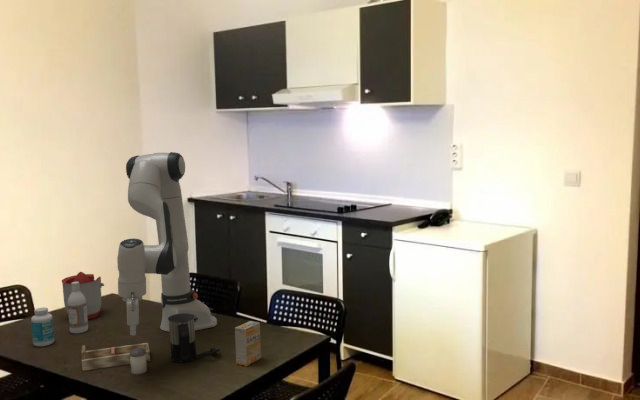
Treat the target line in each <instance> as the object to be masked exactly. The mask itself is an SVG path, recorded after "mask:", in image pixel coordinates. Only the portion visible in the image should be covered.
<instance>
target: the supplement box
mask: <svg viewBox="0 0 640 400" xmlns="http://www.w3.org/2000/svg"><path fill="white" fill-rule="evenodd" d="M234 337H235V340H234V341H235V361H236V363H235V364H236V365H238V364H239V366H242V365H244V366H243V367H248V366H250V365H251V363H252V364H253V363H255V362H257V361H259V360H261V359H262V349H261V323H260V322H259V321H253V320H248V321H247V322H244V323H242V324H240V325H237V326H236V327H234Z"/></svg>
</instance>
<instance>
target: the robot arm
mask: <svg viewBox="0 0 640 400" xmlns="http://www.w3.org/2000/svg"><path fill="white" fill-rule="evenodd" d="M125 173H126V176H127V178H128V179H129V180H128V188H127V201H128V204H129V206H130V207H131V209H133V210H134V211H135V212H137V213H139V214H141V215H142V216H145V217H149V218H151V219H153V220H155V222H156V224H155V225H156V231H157V233H156V234H157V240H158V241H157V242H158V244H156V245H154V244H153V245H151V244H150V245H149V244H148V245H147V244H144V241H143V240H141V239H140V238H127V239H124V240H122V241H121V242H120V243H119V246H118V251H117V258H116V260H117V261H116V262H117V270H118V278H117V295H118V297H120V298H122V299H121V300H122V301H124V302H125V305H126V324H127V326H129V335H130V336H136V335H137V325H139V323H140V309H139V308H140V303H139V301H141V300H143V296H145V295H146V294H147V278H146V277H147V276H146V274H149V275H150V274H154V275H155V274H156V275H160V276H161V277H160V278H161V279H160V280H161V295H160V303H161V306H162V315H161V322H160V326H159V328H160V330H162V331H165V332H168V333H170V331H169V320H168V317H170V316H172V315H175V314H181V313H189V314H193V315H194V316H195V317H194V329H195V331H199V330H204V329H208V328H213V327H216V326H217V325H218V319H217V318H216V317H215V316H214V315H212V313H211V310H210V308H209V307H208V306H207V305H206V304H205V303H203V302H202V301H201V300H199V299H198V298H199V295H198V293H197V292H196V291H195V290H192V289H191V279H190V278H191V277H190V267H189V265H190V264H189V253H188V252H189V240H188V234H187V233H188V231H187V226H186V219H185V218H186V217H185V210H184V204H183V194H182V188H181V185H180V183H181V182H180V180H181V179H182V178H183V177H184V176H185V173H186V163H185V159H184V157H183V156H182V154H180V153H179V152H174V151H173V152H171V151H170V152H154V153H147V154H143V155H134V156H132V157H129V159H128V161H127V162H126V165H125Z"/></svg>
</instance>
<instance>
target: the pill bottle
mask: <svg viewBox="0 0 640 400" xmlns="http://www.w3.org/2000/svg"><path fill="white" fill-rule="evenodd" d="M33 312H34V315H32V317H31V319H30V322H31V334H32V343H33V346H34V347H46V346H50V345H52V344H54V342H55V330H54V319H53V315H52V314H51V313H49V308H48V307H37V308H35V309H34V310H33Z"/></svg>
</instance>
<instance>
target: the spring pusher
mask: <svg viewBox="0 0 640 400" xmlns="http://www.w3.org/2000/svg"><path fill="white" fill-rule="evenodd" d="M114 347H115V346H111V347H110V348H111V355H112V356H113V355H115V349H114Z"/></svg>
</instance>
